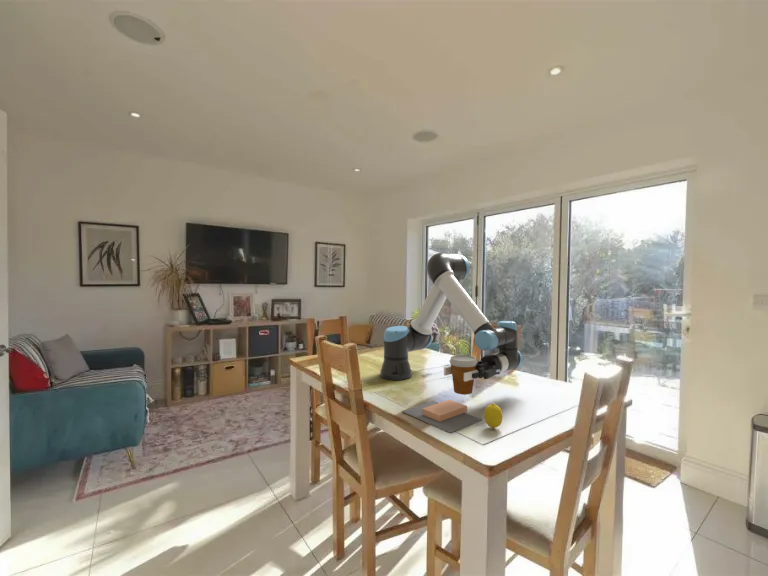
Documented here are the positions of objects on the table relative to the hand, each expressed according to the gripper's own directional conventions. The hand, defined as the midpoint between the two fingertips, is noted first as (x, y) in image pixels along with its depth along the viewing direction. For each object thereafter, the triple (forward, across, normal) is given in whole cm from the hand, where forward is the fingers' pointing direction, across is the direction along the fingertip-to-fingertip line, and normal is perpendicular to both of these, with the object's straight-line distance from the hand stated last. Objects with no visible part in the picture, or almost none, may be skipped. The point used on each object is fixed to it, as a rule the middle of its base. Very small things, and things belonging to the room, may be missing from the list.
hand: (454, 374), depth 122 cm
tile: (-5, +2, -12) cm, 13 cm away
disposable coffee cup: (-5, 0, -7) cm, 9 cm away
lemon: (-1, -15, -14) cm, 21 cm away
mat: (+4, +2, -14) cm, 15 cm away
